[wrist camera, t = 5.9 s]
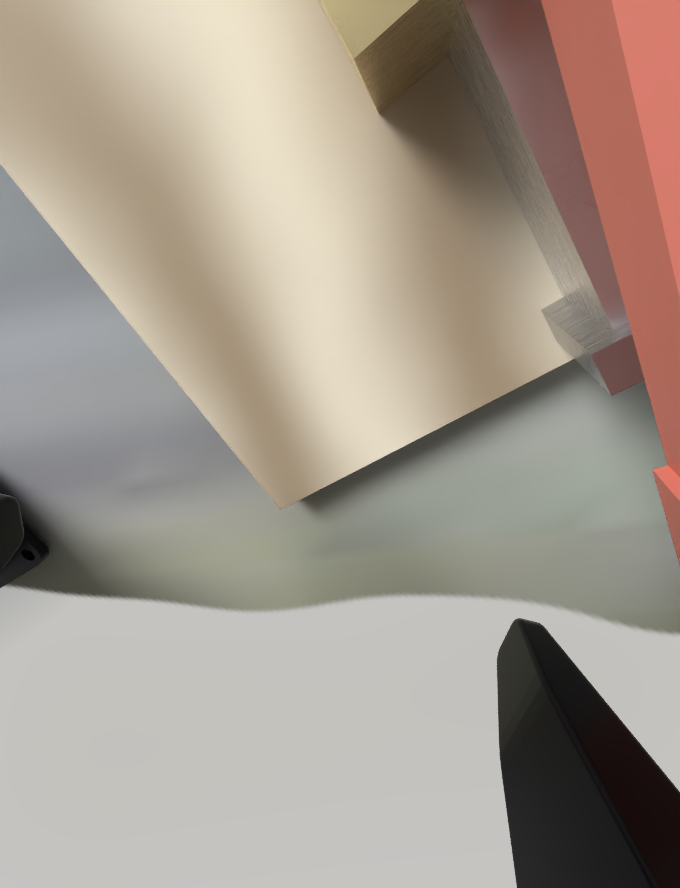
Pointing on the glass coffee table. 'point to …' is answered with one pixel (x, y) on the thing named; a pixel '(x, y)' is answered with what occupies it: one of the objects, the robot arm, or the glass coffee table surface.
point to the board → (277, 223)
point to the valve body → (510, 144)
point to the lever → (634, 180)
